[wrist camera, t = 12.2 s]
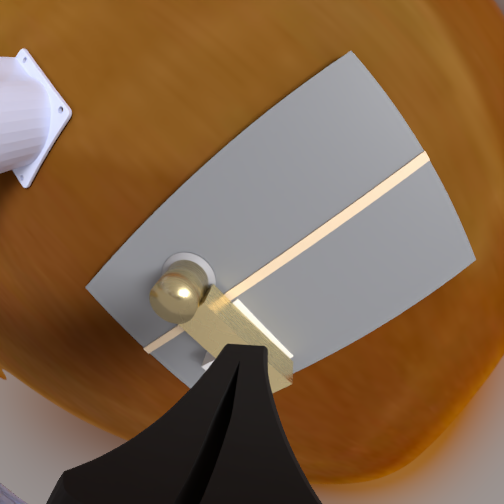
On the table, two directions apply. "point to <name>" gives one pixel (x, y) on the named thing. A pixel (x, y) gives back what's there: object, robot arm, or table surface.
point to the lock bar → (212, 317)
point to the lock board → (298, 227)
